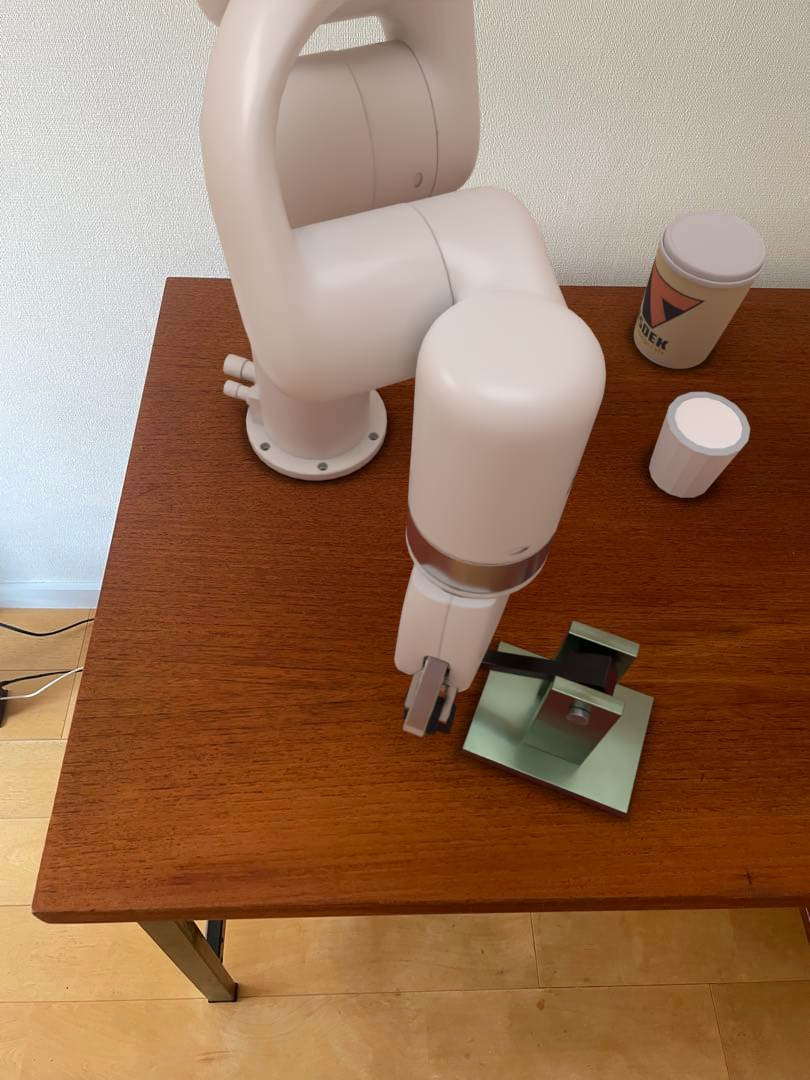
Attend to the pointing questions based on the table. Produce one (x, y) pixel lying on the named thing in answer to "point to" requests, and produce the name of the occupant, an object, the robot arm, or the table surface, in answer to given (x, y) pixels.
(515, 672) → the lever
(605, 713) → the bracket
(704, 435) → the white cylinder
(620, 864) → the table surface
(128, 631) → the table surface
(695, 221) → the coffee cup
